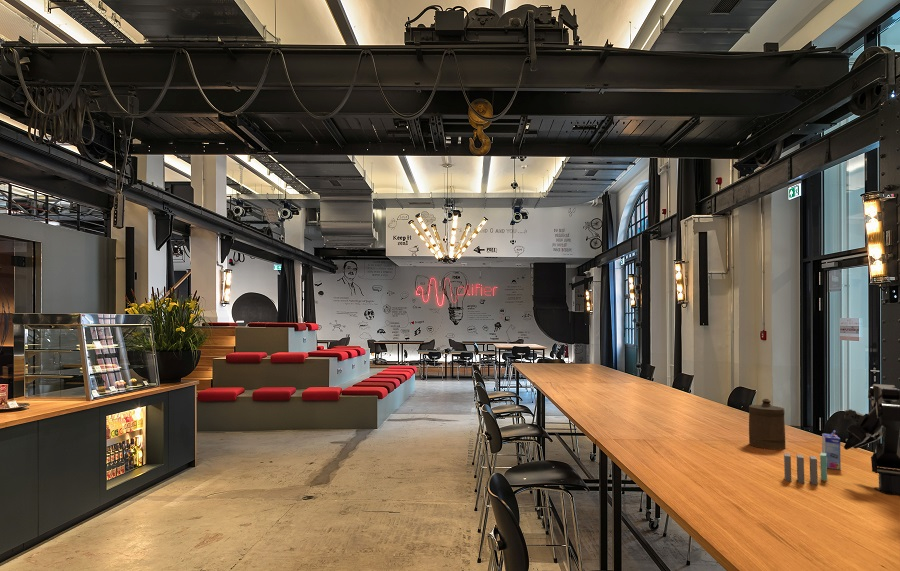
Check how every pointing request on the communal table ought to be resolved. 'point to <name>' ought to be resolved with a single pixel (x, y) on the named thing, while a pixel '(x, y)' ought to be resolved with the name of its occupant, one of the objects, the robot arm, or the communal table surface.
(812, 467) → the domino
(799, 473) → the domino
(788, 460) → the domino end
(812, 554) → the communal table surface
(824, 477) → the domino
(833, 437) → the ink cartridge box
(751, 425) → the wooden container
